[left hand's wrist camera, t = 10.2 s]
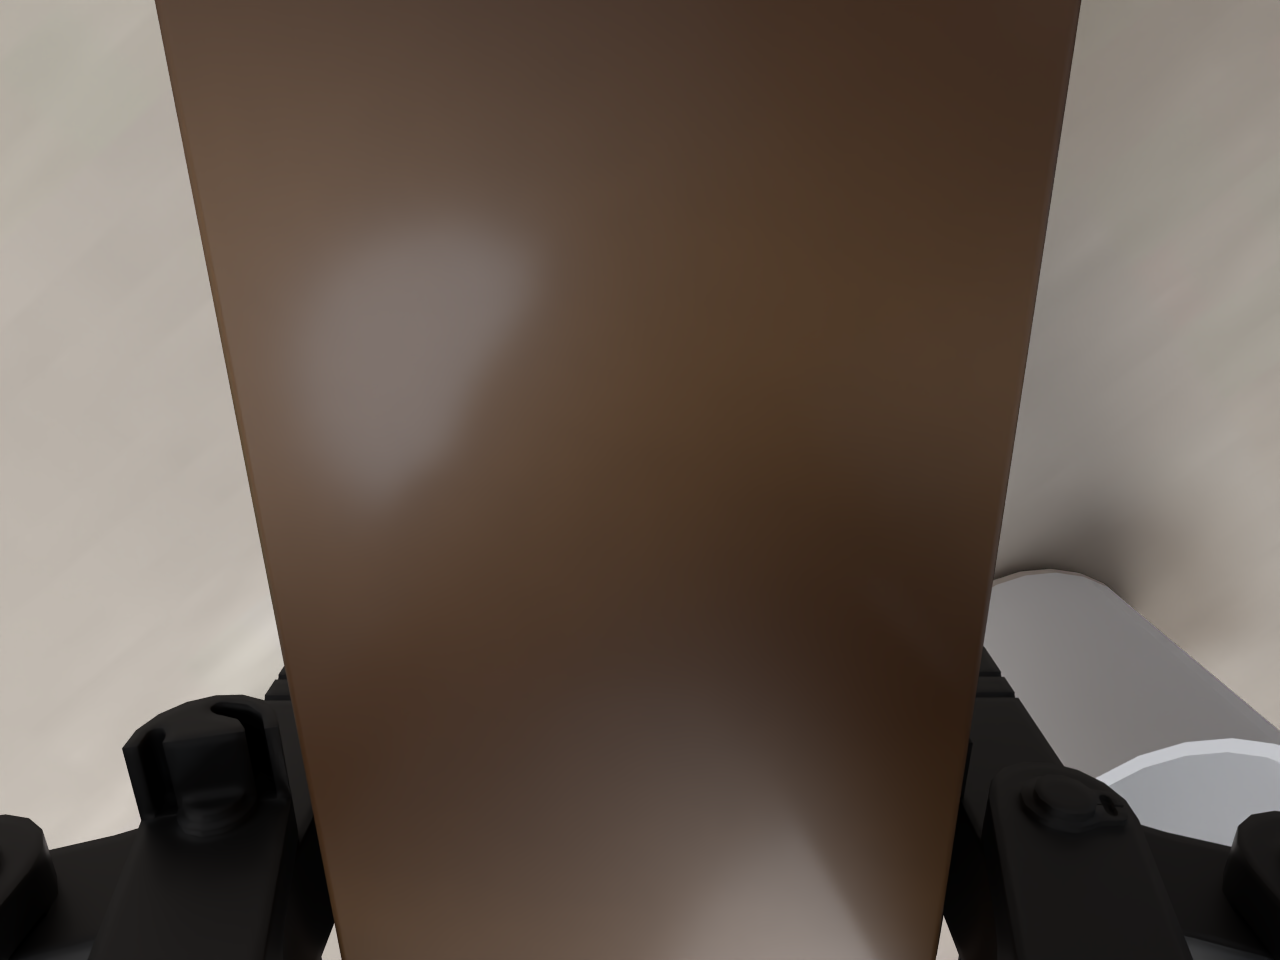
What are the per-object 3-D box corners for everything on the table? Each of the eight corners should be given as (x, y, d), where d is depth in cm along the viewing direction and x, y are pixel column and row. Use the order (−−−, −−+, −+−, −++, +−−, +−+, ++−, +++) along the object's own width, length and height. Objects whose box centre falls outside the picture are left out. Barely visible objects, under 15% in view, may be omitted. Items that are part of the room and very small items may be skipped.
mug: (894, 754, 35) (992, 989, 25) (928, 551, 32) (1056, 734, 22) (1168, 759, 35) (1369, 995, 25) (1229, 558, 32) (1488, 743, 22)
